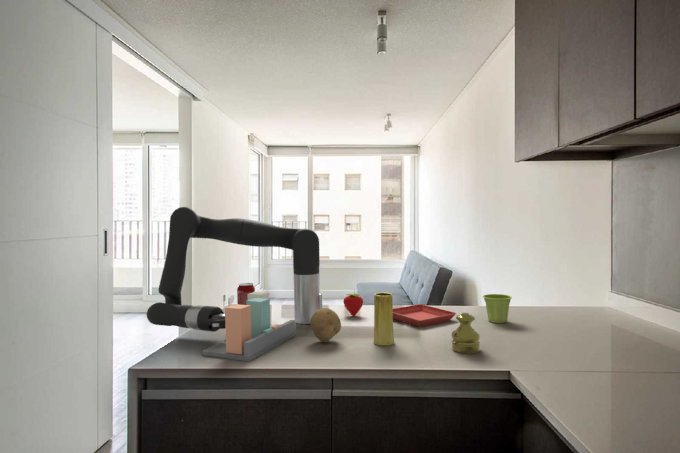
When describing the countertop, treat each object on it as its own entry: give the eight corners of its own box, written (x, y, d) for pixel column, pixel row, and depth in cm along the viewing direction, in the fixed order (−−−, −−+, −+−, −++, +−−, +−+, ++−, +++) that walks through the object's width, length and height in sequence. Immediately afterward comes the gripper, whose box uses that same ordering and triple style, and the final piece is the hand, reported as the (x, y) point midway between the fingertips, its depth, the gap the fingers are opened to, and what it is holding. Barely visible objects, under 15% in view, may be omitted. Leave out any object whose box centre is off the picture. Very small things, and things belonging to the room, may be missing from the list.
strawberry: (344, 313, 155) (344, 287, 155) (364, 314, 154) (363, 288, 154) (342, 317, 149) (341, 290, 149) (362, 317, 148) (362, 290, 148)
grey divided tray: (202, 355, 110) (202, 335, 109) (255, 331, 133) (254, 314, 133) (248, 361, 104) (248, 340, 104) (295, 335, 127) (295, 317, 127)
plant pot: (482, 323, 137) (482, 298, 137) (483, 317, 146) (483, 293, 145) (512, 325, 133) (512, 299, 133) (511, 319, 142) (511, 294, 142)
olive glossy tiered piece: (476, 355, 105) (476, 317, 105) (448, 351, 109) (447, 314, 109) (483, 348, 111) (482, 311, 111) (456, 344, 115) (455, 309, 115)
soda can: (251, 316, 153) (250, 285, 153) (234, 316, 154) (233, 285, 154) (258, 312, 160) (257, 282, 160) (242, 312, 161) (241, 282, 161)
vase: (396, 340, 119) (395, 292, 119) (392, 346, 114) (391, 296, 113) (376, 339, 121) (375, 291, 121) (371, 345, 116) (370, 295, 115)
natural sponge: (327, 335, 126) (326, 303, 126) (347, 341, 120) (347, 307, 120) (304, 342, 120) (304, 308, 120) (325, 348, 113) (324, 313, 113)
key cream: (248, 331, 127) (247, 293, 127) (256, 328, 132) (255, 291, 131) (261, 333, 125) (261, 294, 125) (269, 329, 130) (268, 292, 129)
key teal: (246, 342, 116) (245, 300, 116) (255, 337, 120) (254, 297, 120) (262, 343, 114) (261, 301, 114) (270, 339, 118) (269, 298, 118)
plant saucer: (457, 321, 142) (457, 312, 142) (419, 329, 132) (419, 319, 132) (420, 312, 157) (420, 303, 157) (384, 319, 147) (384, 310, 147)
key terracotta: (225, 352, 107) (224, 307, 107) (236, 347, 112) (235, 304, 111) (241, 354, 105) (240, 308, 105) (251, 349, 110) (250, 305, 109)
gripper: (188, 310, 119) (237, 314, 112) (218, 301, 131) (263, 305, 124) (189, 335, 119) (237, 341, 112) (218, 324, 131) (264, 329, 124)
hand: (251, 322), depth 118 cm, fingers closed
